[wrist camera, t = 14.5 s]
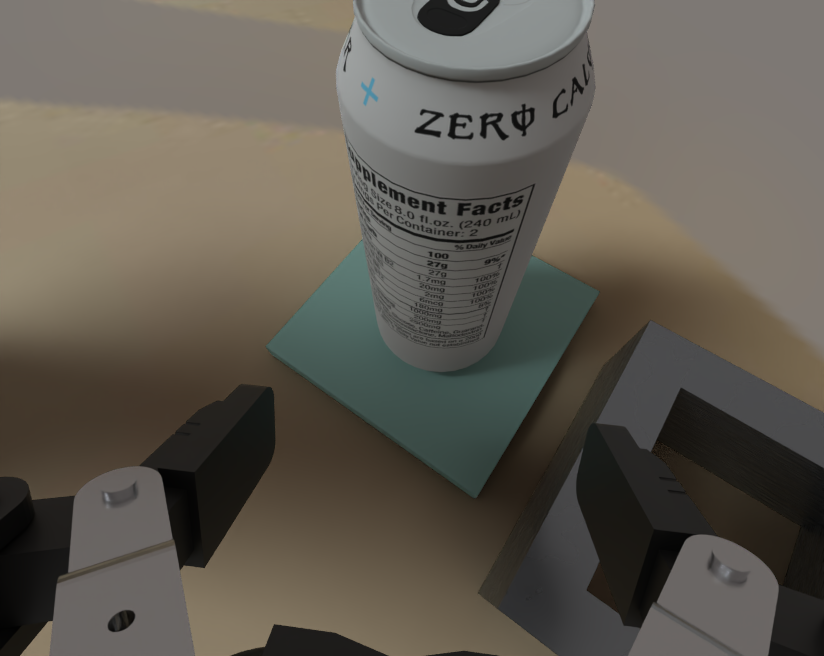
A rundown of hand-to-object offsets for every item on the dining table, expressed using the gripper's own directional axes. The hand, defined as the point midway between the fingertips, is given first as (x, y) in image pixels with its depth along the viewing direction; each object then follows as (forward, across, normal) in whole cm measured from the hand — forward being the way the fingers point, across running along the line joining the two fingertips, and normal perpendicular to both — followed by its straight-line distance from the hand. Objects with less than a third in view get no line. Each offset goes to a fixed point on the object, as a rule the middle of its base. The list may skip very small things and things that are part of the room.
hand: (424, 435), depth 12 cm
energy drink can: (+12, 0, +1) cm, 12 cm away
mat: (+12, 0, +1) cm, 12 cm away
